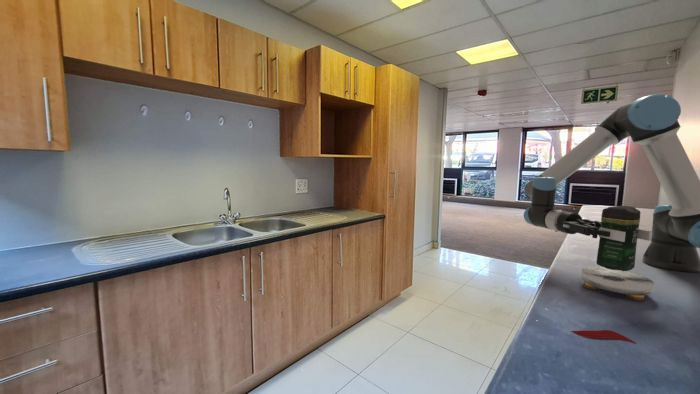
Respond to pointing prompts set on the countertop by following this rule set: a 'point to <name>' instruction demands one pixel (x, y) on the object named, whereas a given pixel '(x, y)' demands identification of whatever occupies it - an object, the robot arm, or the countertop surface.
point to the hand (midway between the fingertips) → (637, 236)
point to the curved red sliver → (602, 335)
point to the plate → (617, 282)
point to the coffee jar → (618, 252)
